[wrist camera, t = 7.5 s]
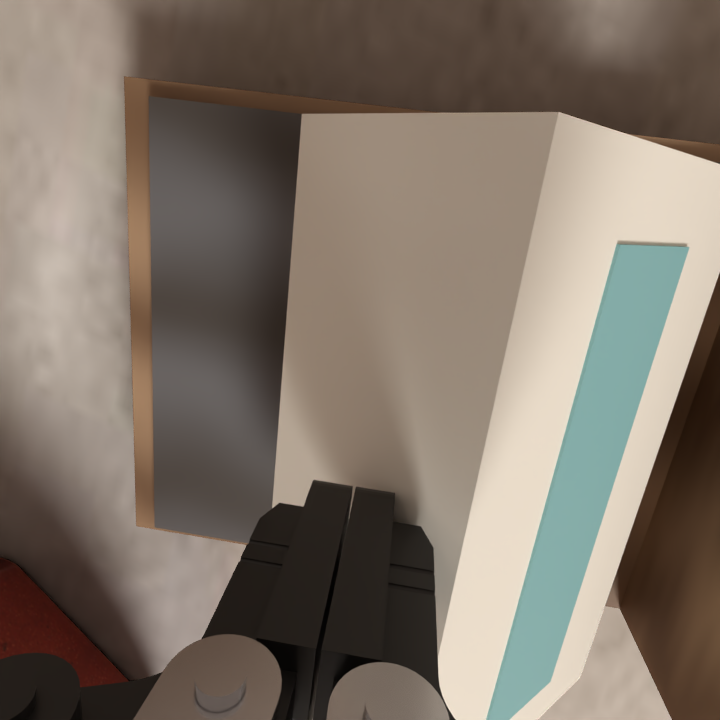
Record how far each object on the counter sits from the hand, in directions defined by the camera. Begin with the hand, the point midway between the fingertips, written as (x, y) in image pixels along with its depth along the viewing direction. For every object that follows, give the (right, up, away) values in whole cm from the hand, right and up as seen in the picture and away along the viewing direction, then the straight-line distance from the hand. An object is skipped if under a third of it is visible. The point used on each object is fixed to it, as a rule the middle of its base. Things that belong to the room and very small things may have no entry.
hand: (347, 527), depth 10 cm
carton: (+1, +2, +5) cm, 5 cm away
